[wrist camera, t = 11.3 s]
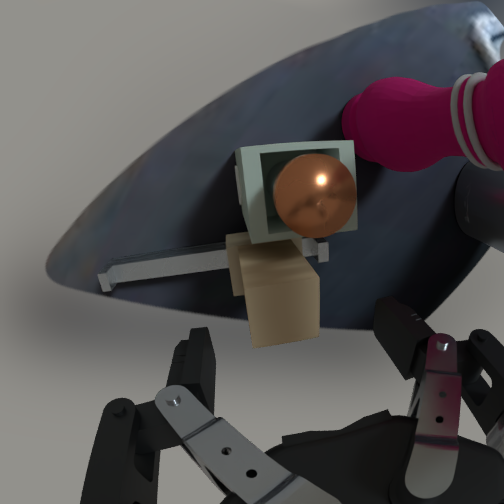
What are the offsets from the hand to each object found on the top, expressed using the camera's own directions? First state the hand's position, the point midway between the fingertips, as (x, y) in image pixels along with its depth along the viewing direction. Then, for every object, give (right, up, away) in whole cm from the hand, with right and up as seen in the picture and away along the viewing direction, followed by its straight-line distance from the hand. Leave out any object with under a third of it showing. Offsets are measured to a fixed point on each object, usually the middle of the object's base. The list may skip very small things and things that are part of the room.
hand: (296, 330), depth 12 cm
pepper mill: (+8, +14, +9) cm, 19 cm away
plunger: (0, +8, +5) cm, 9 cm away
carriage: (-1, +4, +10) cm, 11 cm away
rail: (-5, +4, +11) cm, 12 cm away
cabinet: (0, +9, +9) cm, 13 cm away
